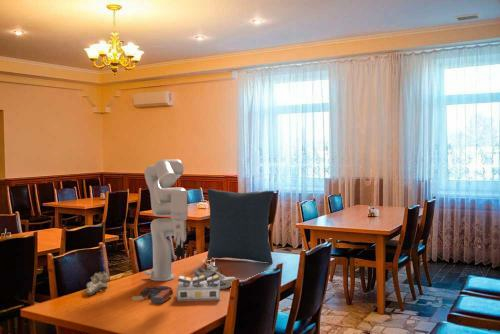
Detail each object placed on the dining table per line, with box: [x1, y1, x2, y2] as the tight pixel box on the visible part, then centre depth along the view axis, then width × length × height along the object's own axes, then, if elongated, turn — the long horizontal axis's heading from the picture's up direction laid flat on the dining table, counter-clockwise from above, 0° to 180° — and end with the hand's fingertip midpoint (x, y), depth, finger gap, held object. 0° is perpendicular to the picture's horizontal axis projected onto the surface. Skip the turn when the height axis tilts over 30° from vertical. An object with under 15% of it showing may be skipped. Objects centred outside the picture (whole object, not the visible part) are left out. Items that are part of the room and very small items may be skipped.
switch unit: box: [176, 280, 221, 302], centre depth 222 cm, size 19×12×7 cm, turn 93°
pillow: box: [206, 188, 275, 264], centre depth 292 cm, size 44×16×44 cm, turn 70°
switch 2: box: [191, 275, 205, 284], centre depth 222 cm, size 6×5×2 cm
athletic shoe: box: [193, 263, 237, 290], centre depth 241 cm, size 10×23×12 cm, turn 78°
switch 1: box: [177, 275, 192, 284], centre depth 222 cm, size 6×5×2 cm
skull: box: [85, 271, 110, 297], centre depth 233 cm, size 9×18×10 cm
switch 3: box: [207, 275, 219, 284], centre depth 222 cm, size 6×5×2 cm
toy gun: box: [131, 285, 174, 304], centre depth 223 cm, size 18×5×15 cm
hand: (179, 256), depth 221 cm, fingers closed
